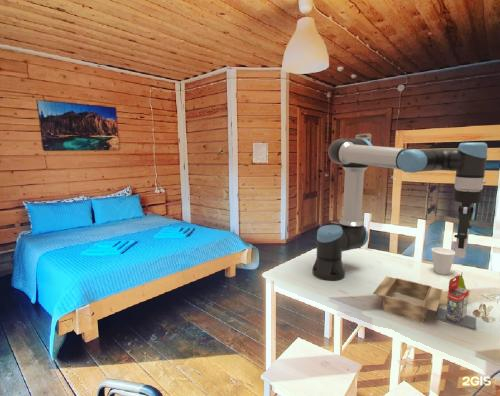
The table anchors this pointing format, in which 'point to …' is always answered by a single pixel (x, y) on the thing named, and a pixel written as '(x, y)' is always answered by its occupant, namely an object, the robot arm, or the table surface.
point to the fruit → (461, 283)
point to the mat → (465, 322)
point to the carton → (412, 289)
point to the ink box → (456, 301)
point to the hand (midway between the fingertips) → (461, 251)
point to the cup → (442, 260)
